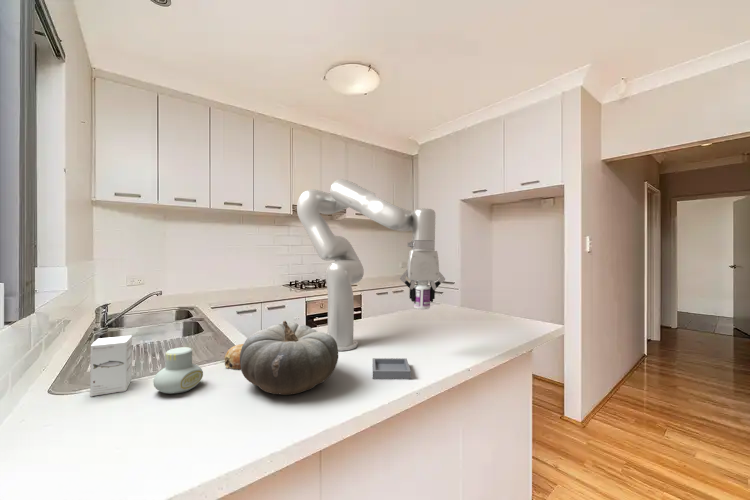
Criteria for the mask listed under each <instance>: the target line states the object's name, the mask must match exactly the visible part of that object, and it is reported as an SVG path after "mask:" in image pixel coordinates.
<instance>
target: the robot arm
mask: <svg viewBox="0 0 750 500" xmlns="http://www.w3.org/2000/svg"><path fill="white" fill-rule="evenodd" d="M348 208H349V209H352V210H354V211H356V212H358V213H360V214H362V216H364V217H367V218H369V219H370V220H372V221H373V222H375V223H378V224H379V225H381V226H383V227H385V228H387V229H390V230H393V231H399V232H411V241H410V242H407V245H406V246H407V247H408V248H410V249H411V250H409V253H408V257H407V268H406V270H405V271H404V272H403V273H402V274H401V275H400V277H399V280H401V282H403V283H404V284H405V286H407V288H408V289H409V299H410V300H411V302H412V303H414V301H415V290H414V287H415V285H416V281H428V282H429V283H428V284H429V286H430V303H433V302H434V300H435V299H436V290H437V288H438V287H440V285H441V284H442V283H443V282H445V281H446V277H445V276H444V275H443V274H442V273H441V271H440V263H439V261H440V260H439V252H438V251H437V250H435V249H436V248H435V247H436V211H435V209H432V208H425V207H424V208H422V207H421V208H416V209H414V210H409V209H406V208H402V207H401V206H400V207H399V206H396V205H395V204H392V203H390V202H388V201H386V200H384V199H382V198H380V197H378V196H377V195H376V193H375V192H373V191H371V190H369V189H367V188H365V187H363V186H360V185H358V184H357V183H355V182H352V181H349V180H348V179H344V178H338V179H336V180H334V181H333V182H332V183H331V185H330V188H329V192H325V191H323V190H318V189H306V190H304V191H303V192H301V194H300V195H299V197H298V199H297V204H296V213H297V217H298V220H299V222H300V223H301V225H302V227H303V228H304V230H305V232H306V234H307V236H308V238H309V240H310V242H311V243H312V244H311V245H313V248H314V250H315V251H316V253H317V255H318V257H319V258H320V259H321V260H323V261H332V262H331V263H330V264H329V265H328V266H327V267H326V271H325V276H324V277H325V282H326V288H327V289H326V290H327V332H326V333H327V334H329V335H331V336H332V337H333V338H334V339H335V341H336V343H337V347H338V352H344V351H351V350H354V349H356V348H357V347H358V341H357V340H355V339H354V331H355V330H354V326H355V325H354V315H355V314H354V310H355V306H354V303H355V302H354V301H355V300H354V299H355V298H354V291H353V290H354V289H353V287H352V285H354V284H357V283H359V282H360V281H361V280H362V279H363V277H364V266H363V264H362V262H361V260H360V258H359V256H358V254H357V253H356V251H355V249H354V247H353V245H352V244H351V242H350V241H349V240H348V239H347V238H345V237H343V236H341V235H335V234H334V233H333V231H332V229H331V228H330V226H329V224H328V222H327V220H326V219H324V217H323V216H322V215H333V214H335V213H338V212H339V213H340V212H341V211H343V210H346V209H348ZM321 214H322V215H321ZM406 278H407V279H408V280H409V281H408V280H407V279H406Z"/></svg>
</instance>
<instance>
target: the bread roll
mask: <svg viewBox="0 0 750 500" xmlns="http://www.w3.org/2000/svg"><path fill="white" fill-rule="evenodd" d="M243 344H244V343H241V344H236V345H234V346H231V347H230V348H229V349H228V350H227V352H226V353H225V355H224V366H225V369H230V370H238V371H239V370H241V364H240V352H241V349H242V346H243Z"/></svg>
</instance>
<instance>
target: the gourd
mask: <svg viewBox="0 0 750 500" xmlns="http://www.w3.org/2000/svg"><path fill="white" fill-rule="evenodd" d="M242 344H243V346H242V349H241V352H240V364H241V369H240V371H241V374H242V375H243V376H244V378H245V380H247V381H248V382H249V383H251V384H252V385H254V386H257V387H259V389H261V390H262V391H263V392H266V393H270V394H273V395H281V396H287V395H297V394H299V393H303V392H305V391H309V390H311V389H313V388H315V386H317V385H320V384H322V383H323V382H325V381H326V380H328V379H329V377H331V375H332V374H333V372H334V371H335V369H336V366H337V364H338V362H339V351H338V347H337V343H336V341H335V339H334V338H333V337H332V336H331V335H329V334H327V332H323V331H318V330H316V329H313V328H312V327H310V326H309V325H305V324H298V323H296V322H293V321H288V320H282V321H281V322H279V323H278V324H273V325H270V326H269V327H266V328H264V329H260V330H257V331H256V332H254V333H252V334H250V335H249V336H248V337H247V338H246V339H245V341H244V342H243V343H242Z"/></svg>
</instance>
